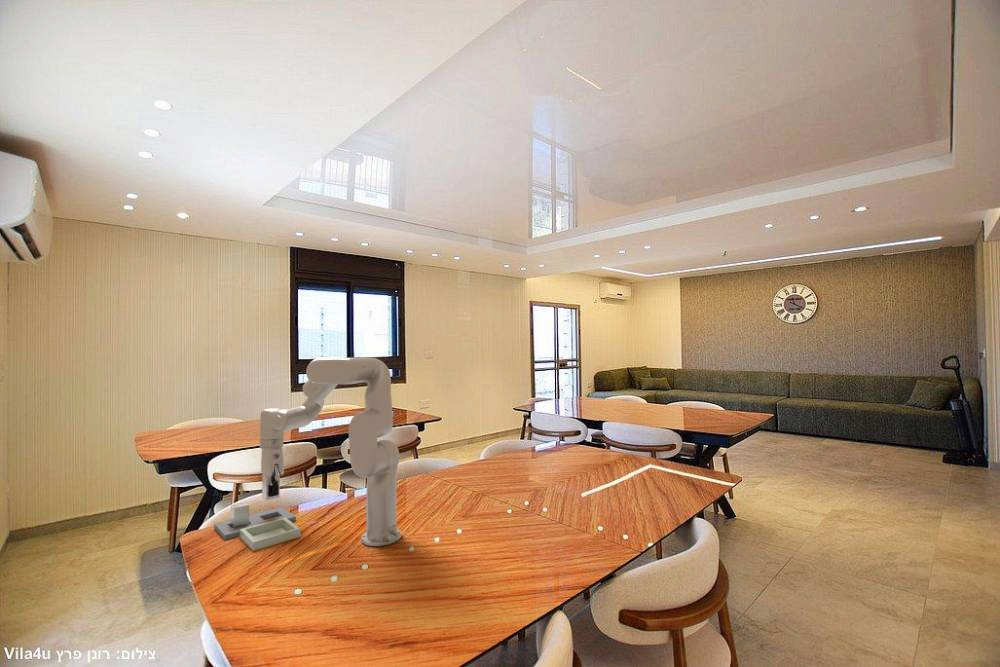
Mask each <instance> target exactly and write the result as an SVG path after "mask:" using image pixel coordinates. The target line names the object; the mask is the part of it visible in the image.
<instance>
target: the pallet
mask: <svg viewBox="0 0 1000 667" xmlns="http://www.w3.org/2000/svg"><path fill="white" fill-rule="evenodd" d="M281 518H287V519H288V520H289V521H291V522H292V523H293V522H296V521H297V517H296V515H294V514H293V513H291V511H288V510H287V509H286V508H285V507H283V506H280V507H275V508H272V509H268V510H263V511H260V512H256V513H251V514H249V525H246V526H242V527H238V528H235V529H231V519H228V520H223V521H219V522H215V523H213V531H216V532H217V533H218V534H219V535H220V537H221V538H222V539H223V540H224V541H227V540H231V539H235V538H240V529H243V528H247V527H251V526H255V525H258V524H262V523H266V522H270V521H274V520H277V519H281Z"/></svg>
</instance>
